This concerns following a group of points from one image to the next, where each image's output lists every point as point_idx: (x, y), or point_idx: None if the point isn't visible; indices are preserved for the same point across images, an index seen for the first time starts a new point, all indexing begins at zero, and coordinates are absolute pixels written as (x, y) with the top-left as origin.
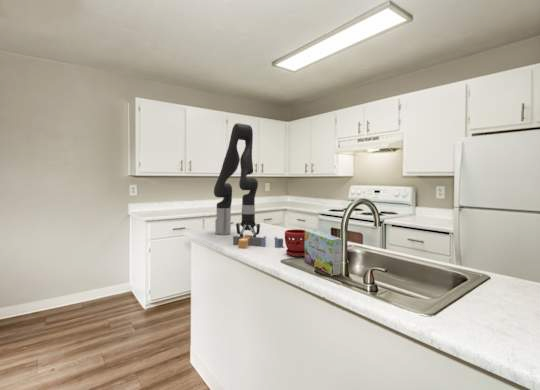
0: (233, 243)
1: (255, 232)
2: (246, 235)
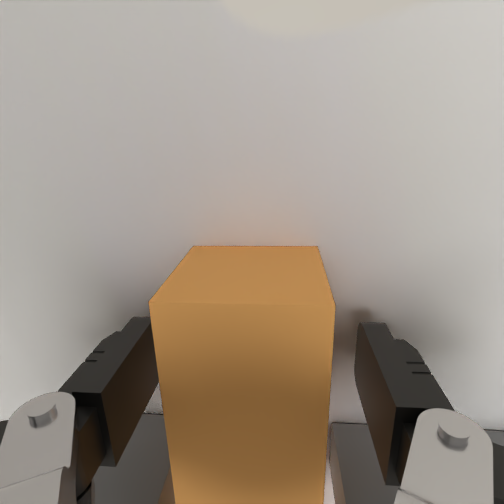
0: None
1: (488, 495)
2: (186, 356)
